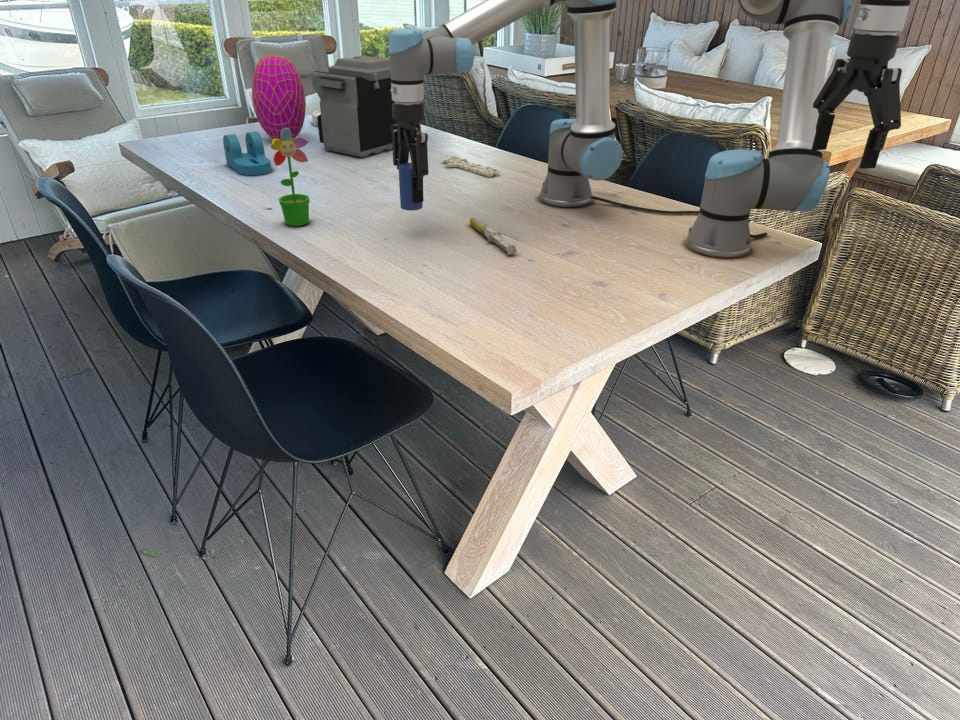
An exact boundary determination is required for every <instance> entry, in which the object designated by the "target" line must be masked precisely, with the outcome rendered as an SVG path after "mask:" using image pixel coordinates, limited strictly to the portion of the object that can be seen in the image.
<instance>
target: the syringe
mask: <svg viewBox="0 0 960 720" xmlns="http://www.w3.org/2000/svg"><path fill="white" fill-rule="evenodd" d="M469 224H470V226H471V227H472V228H474V230H476V231H477V232H479V233H480V234H481V235H482V236H484V237H485V238H486V239H487V241H488V243H494V244H496V245H497V246H498V247H500V248H501V249H502V250H503V251H504V252H506V253H507V255H508V256H512V255H515V253H517V251H518V250H517V247H516V245H515V244H511V243H510V242H509V241H507V240H506V239H504V238H503V237H502V234H501V233H500V232H499V231H495V230H494V229H493V228H491V227H490V226H489V225H487V224H486V223H485V222H483V221H482V220H481V219H480V218H479V217H477V216H472V217H470V220H469Z"/></svg>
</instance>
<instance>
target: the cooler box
mask: <svg viewBox="0 0 960 720" xmlns="http://www.w3.org/2000/svg"><path fill="white" fill-rule="evenodd" d="M310 79H311V87H313V90H314V91H315V93H316V94H317V96H318V98H319V110H320V111H321V115H319V116H318V117H317V120H318V126H317V128H318V138H319V143H320V144H323V146H324V149H325V150H327V151H330V152H335V153H340V154H344V155H348V156H353V157H357V158H362V159H363V158H366V157H367V158H368V157H369V155H371V154H375V155H377V154H381V153H382V152H383V151H391V150H393V143H392V131H391V125H395V124H397V122H398V121H396V120H394V119H393V117H392V104H393V103H394V101H393V100H392V93H391V72H390V58H385V57H377V56H367V55H356V56H353V57H350V58H349V57H343V58H342V57H341V58H337V59H336V60H335V63H334V64H333V65H330V66H329V67H328V72H327V71H320V70H314V71H313V70H312V71H310ZM420 127H421V121H420ZM421 128H422V127H421Z"/></svg>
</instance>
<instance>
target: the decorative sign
mask: <svg viewBox="0 0 960 720" xmlns="http://www.w3.org/2000/svg"><path fill="white" fill-rule="evenodd" d="M442 161H443V164H445V165H446V168H459V169H463V170H465V171H469V172H472V173H474V174H478V175H481V176H485V177H487V178H490V177H491V178H492V177H493V176H496V177H497V176H498V175H499V171H498V170H497V168H495V167H494V168H492V166H482V164H480V163H475V162H471V163H470V162H468V159H467V158H460V156H458V155H450V157H447V158H443V160H442Z"/></svg>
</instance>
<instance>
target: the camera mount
mask: <svg viewBox="0 0 960 720" xmlns="http://www.w3.org/2000/svg"><path fill="white" fill-rule="evenodd" d="M222 140H223V141H222V143H223V149H224V150H223V151H224V156H225V161H226V165H227V166H228V167H230V168H231V169H232V170H234V171H236V172H237V173H238V174H239V175H244V176H260V175H265V174H268V173H271V172H272V164H271V159H270V158H268V157H267V156H266V153H265V145H264V141H263V139H262V136H261V134H260V132H258V131H247V132H246V133H245V146H246V152H243V151H242V150H243V149H242V146H241V142H240V140H239V138H238V135H236V134H235V133H231V134H224V135H223V138H222Z"/></svg>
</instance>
